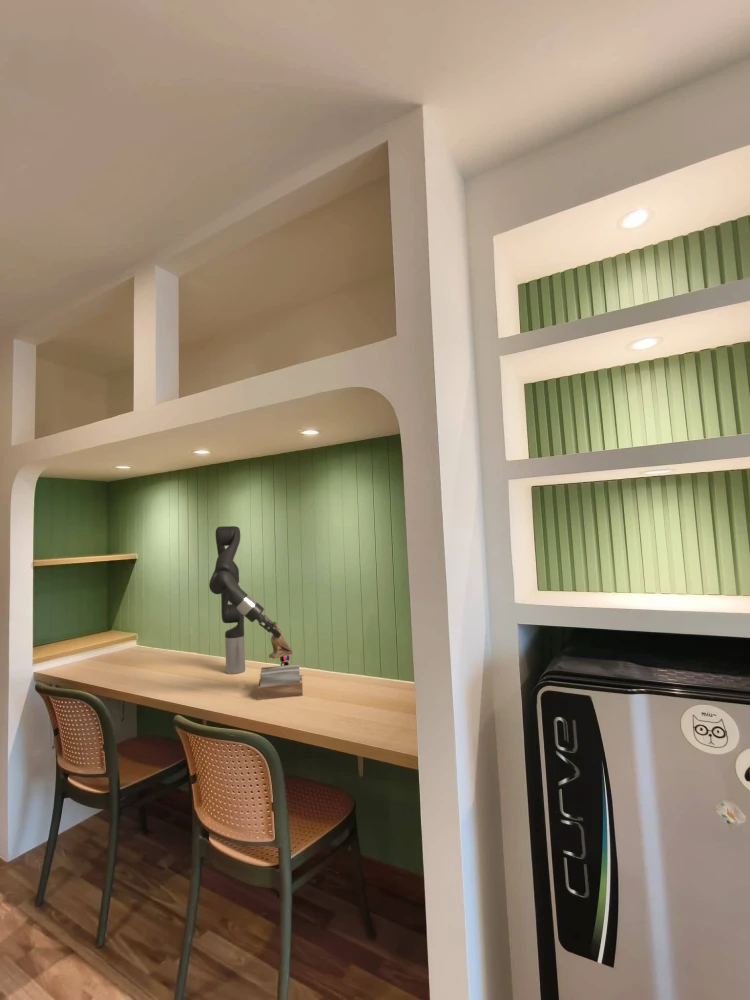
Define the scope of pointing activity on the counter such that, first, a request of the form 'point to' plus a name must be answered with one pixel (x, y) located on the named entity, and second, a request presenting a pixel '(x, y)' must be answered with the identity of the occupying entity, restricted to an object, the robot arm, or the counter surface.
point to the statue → (285, 660)
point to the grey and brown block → (280, 682)
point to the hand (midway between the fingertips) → (279, 635)
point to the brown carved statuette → (279, 645)
